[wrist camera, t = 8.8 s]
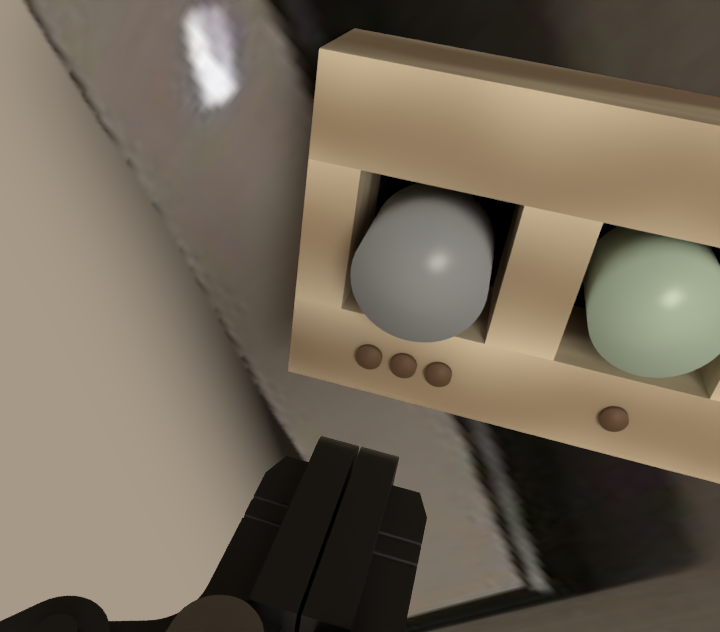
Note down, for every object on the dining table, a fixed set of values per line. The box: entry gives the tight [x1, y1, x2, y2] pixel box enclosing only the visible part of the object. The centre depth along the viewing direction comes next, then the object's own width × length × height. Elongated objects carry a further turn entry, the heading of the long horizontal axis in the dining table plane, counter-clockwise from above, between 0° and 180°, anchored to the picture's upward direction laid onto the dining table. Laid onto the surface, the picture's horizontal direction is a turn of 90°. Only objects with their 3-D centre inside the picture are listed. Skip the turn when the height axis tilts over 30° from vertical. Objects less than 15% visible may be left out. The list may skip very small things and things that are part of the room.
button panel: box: [288, 29, 720, 484], centre depth 21 cm, size 11×22×4 cm, turn 82°
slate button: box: [350, 183, 495, 343], centre depth 20 cm, size 4×4×3 cm
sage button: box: [583, 226, 720, 378], centre depth 20 cm, size 4×4×3 cm
